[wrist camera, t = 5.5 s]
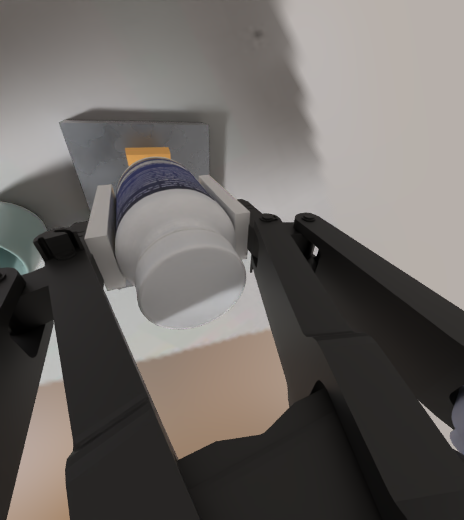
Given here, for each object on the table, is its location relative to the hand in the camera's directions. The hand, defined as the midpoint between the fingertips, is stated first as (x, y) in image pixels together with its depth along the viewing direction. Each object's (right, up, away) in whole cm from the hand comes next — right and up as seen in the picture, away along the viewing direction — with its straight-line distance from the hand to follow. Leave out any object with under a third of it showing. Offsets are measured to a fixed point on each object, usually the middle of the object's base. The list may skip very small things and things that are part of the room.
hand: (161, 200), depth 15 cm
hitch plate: (-7, +3, +17) cm, 19 cm away
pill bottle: (0, 0, 0) cm, 1 cm away
